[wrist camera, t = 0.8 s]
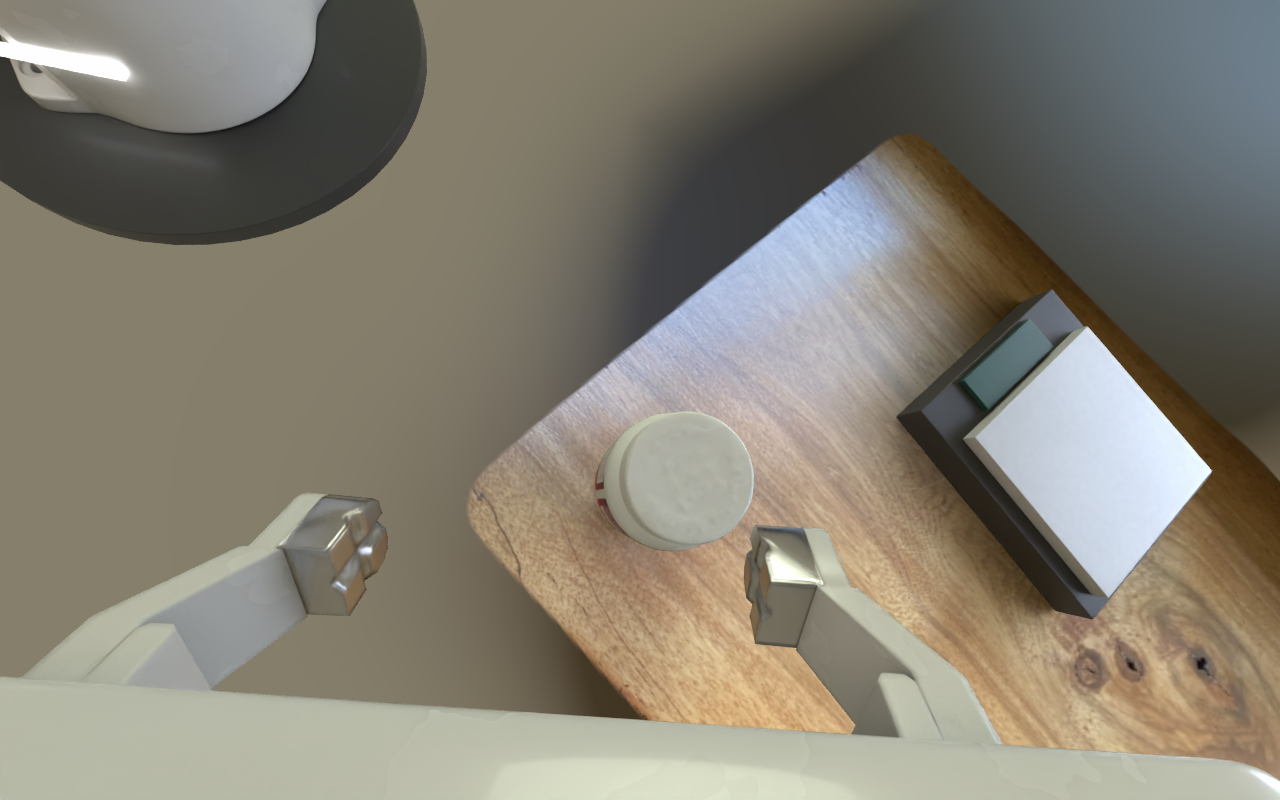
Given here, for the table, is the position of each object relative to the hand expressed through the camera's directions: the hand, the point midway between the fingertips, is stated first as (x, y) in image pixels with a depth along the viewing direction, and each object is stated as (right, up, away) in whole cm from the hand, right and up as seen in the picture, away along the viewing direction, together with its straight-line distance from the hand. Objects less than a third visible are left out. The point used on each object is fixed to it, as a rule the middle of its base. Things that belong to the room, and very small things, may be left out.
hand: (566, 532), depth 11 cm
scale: (+29, 0, +24) cm, 37 cm away
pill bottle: (+2, -2, +19) cm, 20 cm away
